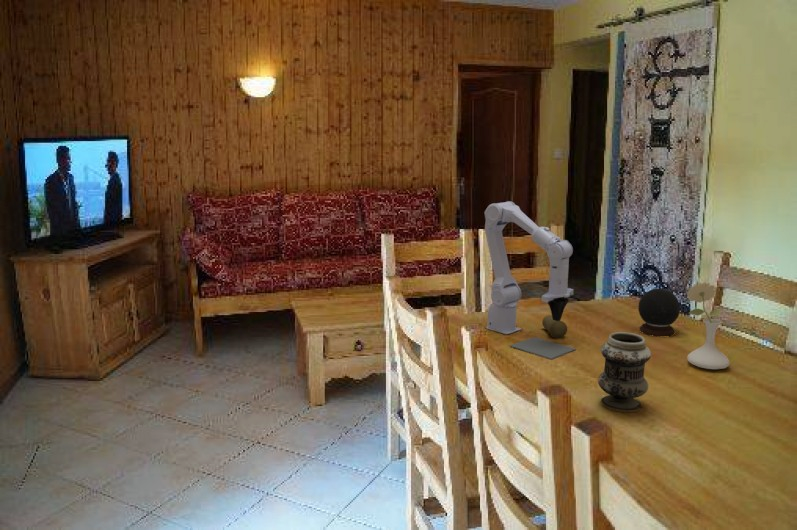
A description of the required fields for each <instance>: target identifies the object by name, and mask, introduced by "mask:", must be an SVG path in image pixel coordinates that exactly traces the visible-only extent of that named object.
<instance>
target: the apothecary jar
mask: <svg viewBox="0 0 797 530" xmlns="http://www.w3.org/2000/svg"><path fill="white" fill-rule="evenodd" d="M600 352H601V355H602V356H603V357H604V358H605V359H604V368H603V372H601V373H600V375H599V376H598V378H597V383H598V386H599V388H600V389H601V390H602V391H603V392H605V393H606V394H608V395H605V396H603V397H602V398H601V400H600V403H601V404H602V406H603V407H605V408H606V409H609V410H611V411H614V412H615V411H616V412H619V413H634V412H639V411H640V409H641V408H643V405H642V403H641V402H640V401H639V400H638V399H636V398H639V397H641V396H643V395H645V394H646V393H647V391H648V390H649V383H648V380H647V379H646V378H645V365H646V363H647V362H648V361H650V359H651V356H652V352H651V350H650V348H649V347H648V346H646V339H645V337H643V336H642V335H641V334H637V333H635V332H633V333H632V332H625V331H617V332H613V333H610V334H609V335H608V340H607V341H605V342H604V343H603V344H602V345H601V348H600Z"/></svg>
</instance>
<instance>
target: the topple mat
mask: <svg viewBox="0 0 797 530" xmlns="http://www.w3.org/2000/svg"><path fill="white" fill-rule="evenodd" d="M512 347H513V348H512ZM509 348H512V349H516V350H518V351H522V352H525V353H528V354H533V355H534V354H535V356H538V357H542V358H544V359H548V360H554V359H556V358H559V357H562V356H563V355H566V354H569V353H572V352H575V351H576V350H577V348H574V347H571V346H567V345H564V344H562V343H561V344H560V343H557V342H554V341H550V340H547V339H543V338H540V337H536V336H532V337H529V338H527V339H525V340H520V341H518V342H516V343H513V344H511V345H509Z"/></svg>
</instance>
